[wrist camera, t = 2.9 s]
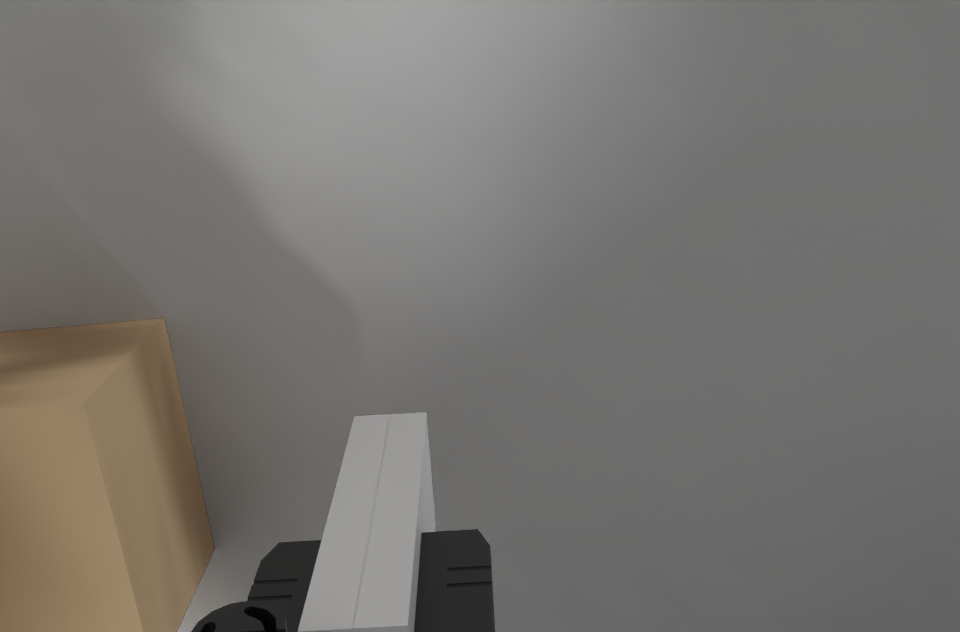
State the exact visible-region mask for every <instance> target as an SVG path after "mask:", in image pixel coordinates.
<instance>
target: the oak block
mask: <svg viewBox="0 0 960 632" xmlns="http://www.w3.org/2000/svg"><path fill="white" fill-rule="evenodd" d="M214 549H215V548H214V543H213V539H212V534H211V529H210V525H209V520H208V516H207V511H206V506H205V502H204V497H203V493H202V488H201V483H200V479H199V474H198V470H197V465H196V460H195V456H194V451H193V447H192V442H191V438H190V433H189V428H188V424H187V419H186V415H185V410H184V405H183V401H182V396H181V392H180V387H179V382H178V378H177V373H176V369H175V364H174V360H173V355H172V350H171V346H170V341H169V337H168V332H167V327H166V323H165V318H160V319H148V320H136V321H124V322H113V323H101V324H89V325H77V326H65V327H54V328H42V329H30V330H18V331H6V332H0V632H177V630H178V628H179V626H180V624H181V622H182V619H183V617H184V615H185V613H186V611H187V609H188V606H189V604H190V602H191V600H192V598H193V595H194V593H195V591H196V589H197V587H198V584H199V582H200V580H201V578H202V576H203V574H204V571H205V569H206V567H207V565H208V563H209V560H210V558H211V556H212V554H213V552H214Z"/></svg>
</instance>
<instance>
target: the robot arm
mask: <svg viewBox="0 0 960 632" xmlns="http://www.w3.org/2000/svg"><path fill="white" fill-rule="evenodd" d="M191 632H495V620H494V603H493V586H492V568H491V551H490V545H489V544H488V542H487V541H486V540H485V538H484V537H483V536H482V534H481V533H480V532H479V531H478V529H476V530H458V531H440V532H436V521H435V508H434V496H433V484H432V472H431V460H430V448H429V435H428V423H427V412H418V413H401V414H383V415H365V416H354V419H353V423H352V427H351V430H350V434H349V438H348V442H347V446H346V449H345V453H344V457H343V461H342V465H341V468H340V472H339V476H338V480H337V484H336V487H335V491H334V495H333V499H332V503H331V506H330V510H329V514H328V518H327V522H326V525H325V529H324V533H323V537H322V540H317V541H299V542H281V543H278V544H277V545H276V546H275V547H274V548H273V549H272V550H271V551H270V552H269V553H268V554H267V555H266V556H265V557H264V558H263V559H262V560H261V562H260V565H259V568H258V571H257V574H256V576H255V579H254V585H252V587H251V590H250V593H249V596H248V601H244V602H238V603H233V604H229V605H226V606H224V607H222V608H219V609H217V610H215V611H212V612H211V613H210V614H208V615H207V616H206V617H204V618H203V619H202V620H200V621H199V622H198V623H197V624H196V626H195V627H194V629H193V630H192V631H191Z"/></svg>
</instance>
